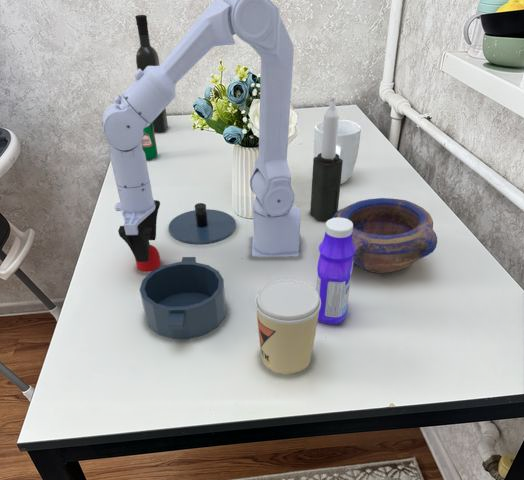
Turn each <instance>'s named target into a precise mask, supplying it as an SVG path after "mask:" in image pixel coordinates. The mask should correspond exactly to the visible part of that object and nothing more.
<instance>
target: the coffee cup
mask: <svg viewBox="0 0 524 480" xmlns="http://www.w3.org/2000/svg"><path fill="white" fill-rule="evenodd" d="M254 299H255V300H254V306H255V310H256V319H257V320H256V321H257V329H258V338H259V339H258V340H259V347H260V355H261V361H262V363H263V365H264V366H265V367H266V368H267V369H269V370H270V371H272V372H274V373H278V374H282V375H283V374H284V375H290V374H295V373H299V372H301V371H303V370H305V369H307V368H308V367H309V366H310V363H311V359H312V354H313V349H314V343H315V338H316V332H317V326H318V322H319V321H318V315H319V310H320V307H321V299H320V296H319V295H318V292H317V291H316V288H315V287H314V286H312V285H311V284H309V283H308V282H305V281H302V280H298V279H291V278H284V279H277V280H273V281H271V282H268V283H266V284H264V285H263V286H261V288H260V289H259V290H258V292H257V294H256V296H255V298H254Z"/></svg>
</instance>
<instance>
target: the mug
mask: <svg viewBox="0 0 524 480" xmlns="http://www.w3.org/2000/svg"><path fill="white" fill-rule="evenodd" d="M323 125H324V120H321V121H319V122H317V123H316V124H315V125H314V135H313V137H314V138H313V158H314V157H317V156H318V154H320V153H322V140H323ZM361 132H362V127H361V125H360V124H359V123H358V122H355V121H352V120H348V119H340V118H339V121H338V133H337V144H336V154H338V155H339V158H340V159H342V160H343V164H342V174H341V184H340V185H342V184H345V183H346V182H347V181H348V180H349V178H350V177H351V176H352V173H353V172H354V168H355V166H356V163H357V159H358V154H359V148H360V142H361Z"/></svg>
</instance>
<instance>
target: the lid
mask: <svg viewBox="0 0 524 480" xmlns="http://www.w3.org/2000/svg"><path fill="white" fill-rule="evenodd" d="M236 228H237V223H236V219H235V218H234V217H233V216H232V215H230V214H229V213H227V212H225V211H222V210H218V209H212V208H211V209H209V208H207V205H206V204H205V203H203V202H198V203H196V204H195V205H194V209H193V210H189V211H185V212H182V213H180V214H178V215H177V216H175V217H173V218H172V219H171V221H170V222H169V224H168V233H169V234H170V236H171V237H172V238H173V239H175V240H176V241H178V242H182V243H185V244H190V245H208V244H212V243H217V242H220V241H224V240H225V239H227V238H229V237H230V236H232V235H233V233H234V232H235V231H236Z"/></svg>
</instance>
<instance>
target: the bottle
mask: <svg viewBox="0 0 524 480" xmlns="http://www.w3.org/2000/svg"><path fill="white" fill-rule="evenodd" d="M325 222H326V223H325V229H324V230H325V232H324V236H323V239H322V241H321V243H320V244H319V246H318V251H319V256H318V259H317V267H316V268H317V269H316V270H317V271H316V272H317V273H316V274H317V275H316V286H315V290H316V291H317V292H318V295H319V296H320V299H321V307H320V310H319V315H318V321H317V322H320V323H322V324H330V325H338V324H341V323H342V322H343V321H344V320H345V318H346V317H347V313H348V309H349V296H350V295H349V294H350V287H351V280H352V274H353V271H354V262H353V255H354V253H355V246H354V245H353V241H352V232H353V223H352V222H351V221H350V220H348V219H346V218H340V217H338V218H332V219H330V220H326V221H325Z"/></svg>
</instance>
